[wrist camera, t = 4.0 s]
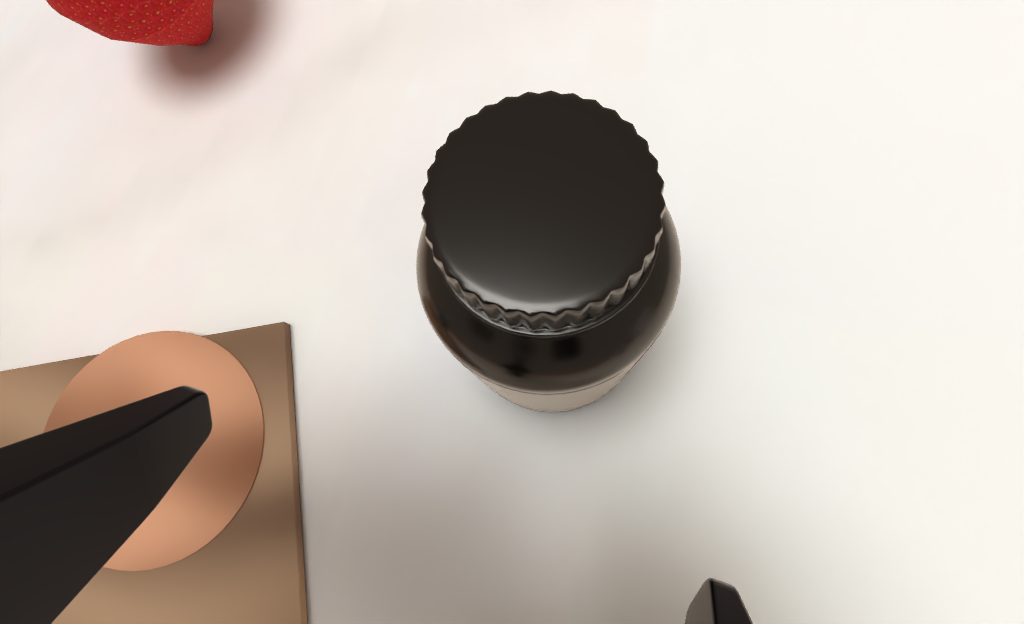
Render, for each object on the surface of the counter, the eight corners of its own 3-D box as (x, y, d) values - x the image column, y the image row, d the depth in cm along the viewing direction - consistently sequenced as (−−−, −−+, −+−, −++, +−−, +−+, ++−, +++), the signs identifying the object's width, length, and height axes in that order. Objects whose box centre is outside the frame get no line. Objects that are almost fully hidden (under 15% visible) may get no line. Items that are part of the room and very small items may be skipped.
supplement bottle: (498, 227, 24) (445, 6, 12) (657, 275, 23) (769, 87, 11) (439, 381, 22) (314, 301, 11) (606, 441, 21) (671, 424, 10)
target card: (308, 647, 20) (301, 652, 20) (-273, 738, 21) (-297, 746, 20) (288, 313, 23) (282, 309, 23) (-216, 401, 24) (-235, 400, 23)
